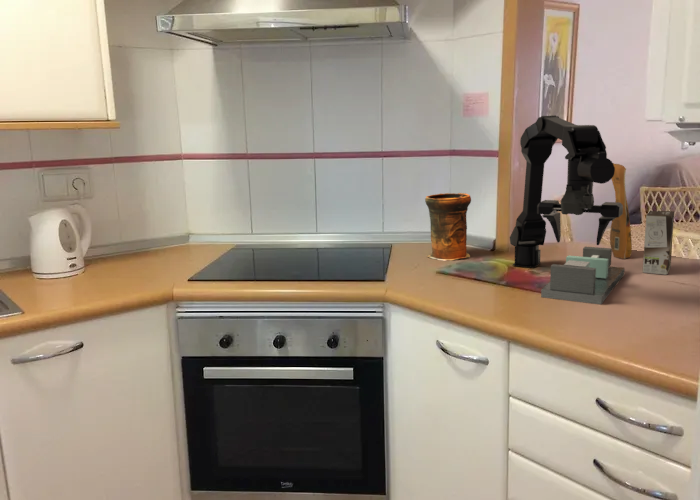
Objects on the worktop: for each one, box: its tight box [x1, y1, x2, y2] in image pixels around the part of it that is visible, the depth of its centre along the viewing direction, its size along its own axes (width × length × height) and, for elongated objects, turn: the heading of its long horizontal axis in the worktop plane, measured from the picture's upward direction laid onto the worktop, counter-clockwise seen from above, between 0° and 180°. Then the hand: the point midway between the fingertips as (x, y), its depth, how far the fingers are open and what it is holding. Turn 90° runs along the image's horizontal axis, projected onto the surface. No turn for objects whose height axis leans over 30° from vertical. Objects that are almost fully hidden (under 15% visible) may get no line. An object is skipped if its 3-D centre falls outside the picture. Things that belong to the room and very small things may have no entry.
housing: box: [563, 260, 590, 268], centre depth 150 cm, size 5×5×6 cm
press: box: [540, 263, 625, 305], centre depth 157 cm, size 14×29×8 cm, turn 147°
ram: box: [565, 246, 613, 278], centre depth 163 cm, size 10×14×5 cm
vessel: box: [424, 192, 472, 262], centre depth 194 cm, size 14×14×20 cm
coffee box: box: [642, 210, 675, 276], centre depth 167 cm, size 9×6×16 cm
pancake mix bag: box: [609, 162, 633, 260], centre depth 187 cm, size 7×19×28 cm, turn 162°
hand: (577, 243), depth 148 cm, fingers open, 9 cm apart
